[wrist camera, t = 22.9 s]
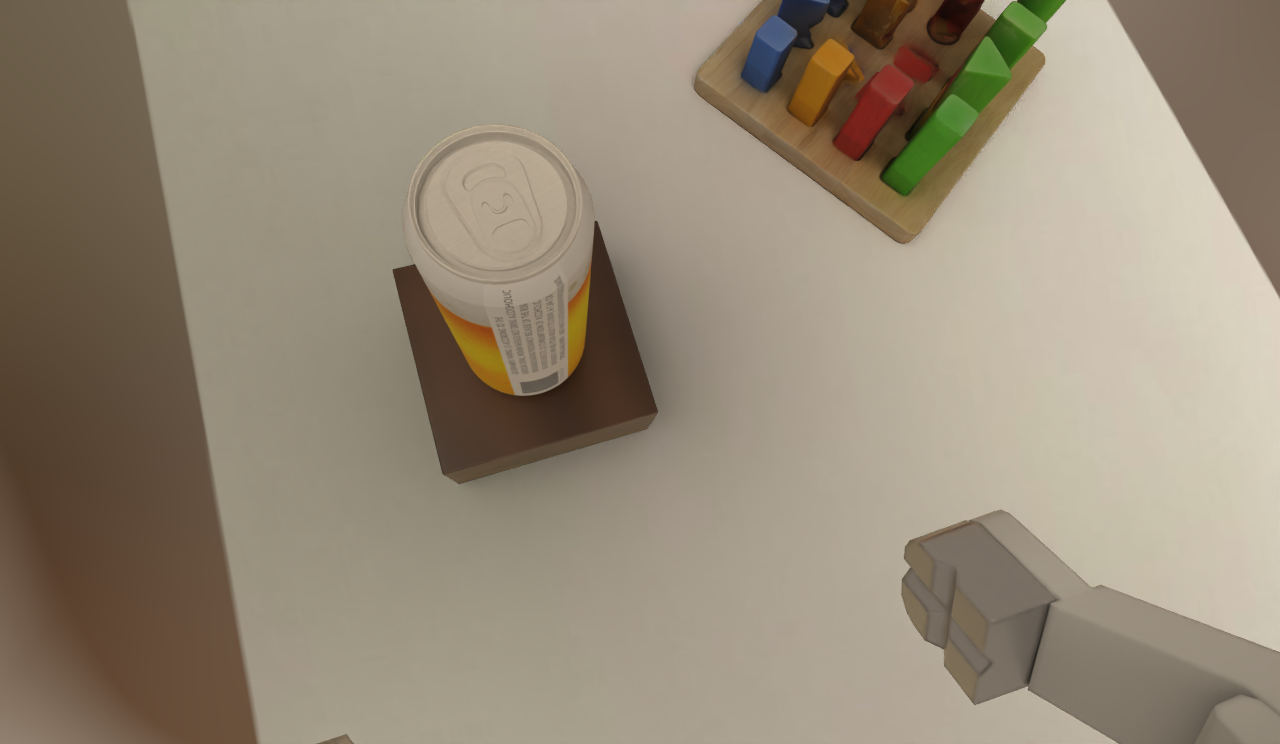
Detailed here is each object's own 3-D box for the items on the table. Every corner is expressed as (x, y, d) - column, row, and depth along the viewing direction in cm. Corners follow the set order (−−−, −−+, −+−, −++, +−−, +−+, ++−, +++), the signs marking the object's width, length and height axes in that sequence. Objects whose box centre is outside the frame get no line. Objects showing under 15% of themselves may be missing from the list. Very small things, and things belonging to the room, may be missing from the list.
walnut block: (458, 484, 39) (442, 475, 34) (412, 302, 41) (391, 269, 36) (647, 428, 41) (658, 412, 36) (594, 257, 43) (597, 220, 38)
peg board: (834, -68, 51) (886, -188, 42) (1033, 74, 49) (1127, -21, 41) (689, 89, 46) (715, -11, 38) (903, 249, 45) (978, 182, 37)
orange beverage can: (553, 267, 37) (543, 86, 23) (604, 368, 36) (629, 245, 22) (445, 313, 36) (362, 154, 21) (495, 419, 35) (443, 326, 20)
